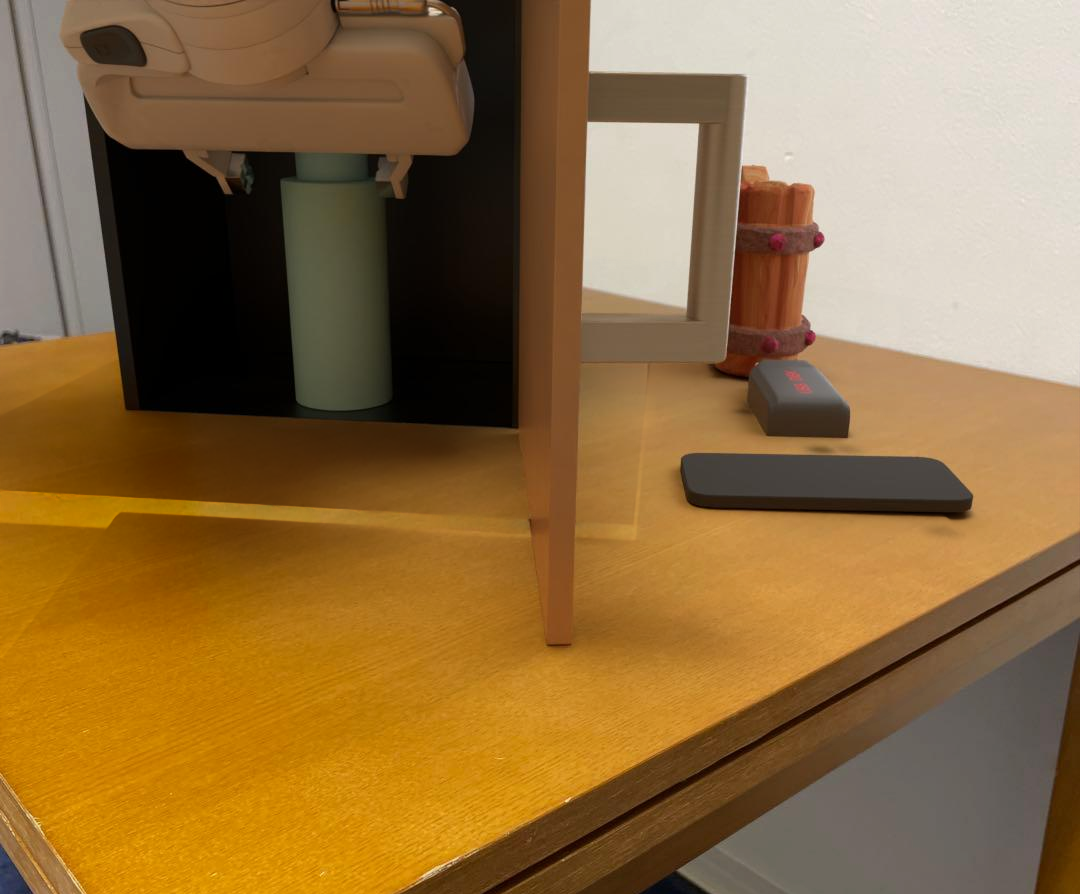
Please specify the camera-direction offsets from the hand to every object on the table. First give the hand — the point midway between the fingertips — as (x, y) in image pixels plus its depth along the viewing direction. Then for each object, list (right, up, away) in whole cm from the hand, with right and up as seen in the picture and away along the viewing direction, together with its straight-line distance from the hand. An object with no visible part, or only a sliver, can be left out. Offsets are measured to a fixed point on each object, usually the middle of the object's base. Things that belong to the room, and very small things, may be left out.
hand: (317, 187), depth 65 cm
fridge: (+1, -11, +12) cm, 16 cm away
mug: (+30, -7, +23) cm, 39 cm away
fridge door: (+16, -20, -10) cm, 28 cm away
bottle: (0, -11, +8) cm, 14 cm away
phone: (+29, -18, -4) cm, 34 cm away
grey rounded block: (+30, -12, +10) cm, 34 cm away
